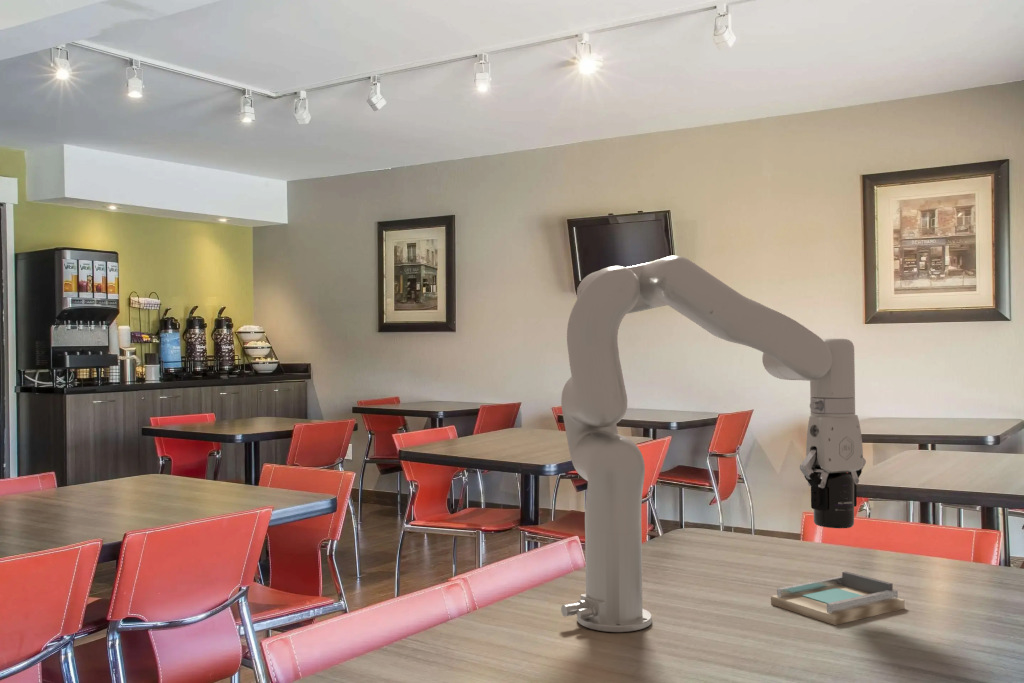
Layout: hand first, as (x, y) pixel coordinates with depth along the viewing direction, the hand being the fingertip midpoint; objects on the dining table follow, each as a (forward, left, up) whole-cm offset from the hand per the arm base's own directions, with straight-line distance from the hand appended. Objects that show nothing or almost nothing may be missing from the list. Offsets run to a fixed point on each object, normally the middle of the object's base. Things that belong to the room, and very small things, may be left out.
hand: (834, 506), depth 154 cm
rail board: (0, 0, -18) cm, 18 cm away
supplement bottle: (0, 0, -4) cm, 4 cm away
